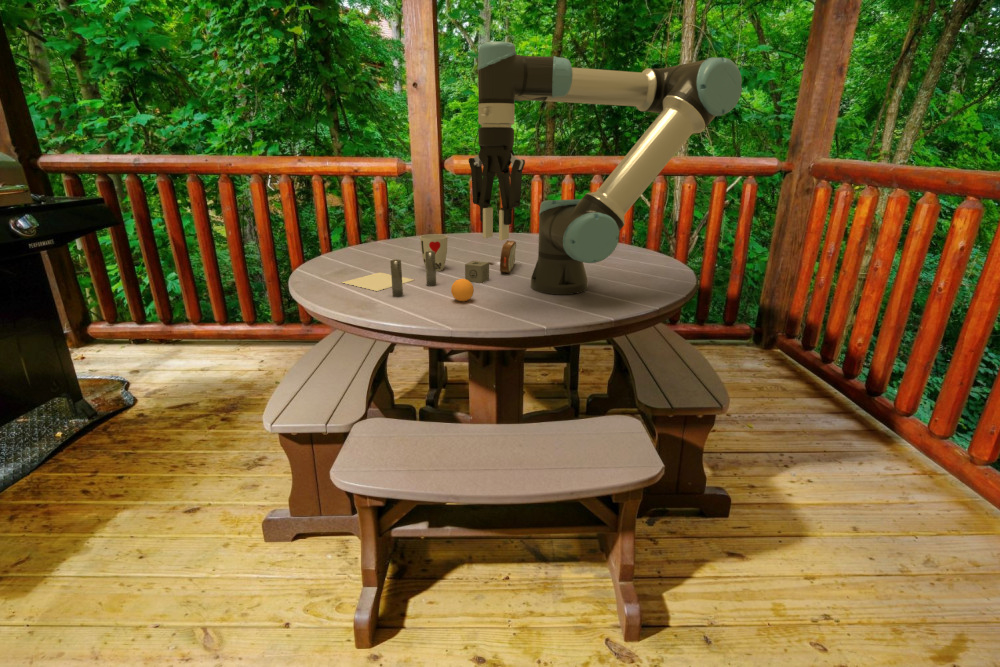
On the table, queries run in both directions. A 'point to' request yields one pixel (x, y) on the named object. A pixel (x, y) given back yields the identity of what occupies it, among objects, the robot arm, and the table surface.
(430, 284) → the right post
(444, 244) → the cup
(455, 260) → the table surface
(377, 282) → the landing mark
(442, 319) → the table surface
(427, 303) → the table surface
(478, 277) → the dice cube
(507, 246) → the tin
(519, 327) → the table surface
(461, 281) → the ball
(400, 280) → the left post
